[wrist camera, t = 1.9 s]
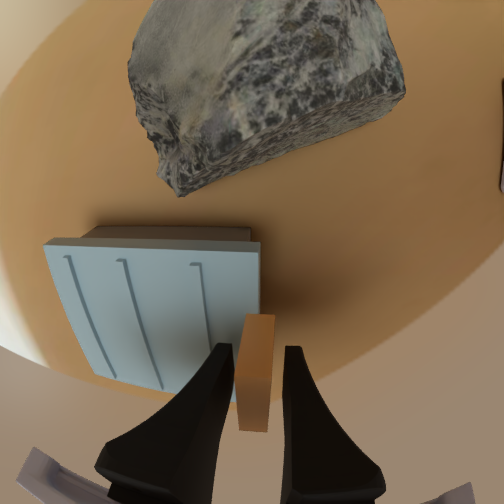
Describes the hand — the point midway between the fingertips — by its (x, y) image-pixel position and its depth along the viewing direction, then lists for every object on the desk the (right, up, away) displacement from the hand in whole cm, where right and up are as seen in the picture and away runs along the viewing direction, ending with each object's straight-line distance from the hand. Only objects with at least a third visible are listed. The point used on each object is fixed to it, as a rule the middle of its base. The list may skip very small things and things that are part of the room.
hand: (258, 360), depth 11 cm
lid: (-5, +1, +2) cm, 6 cm away
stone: (+1, +13, 0) cm, 13 cm away
